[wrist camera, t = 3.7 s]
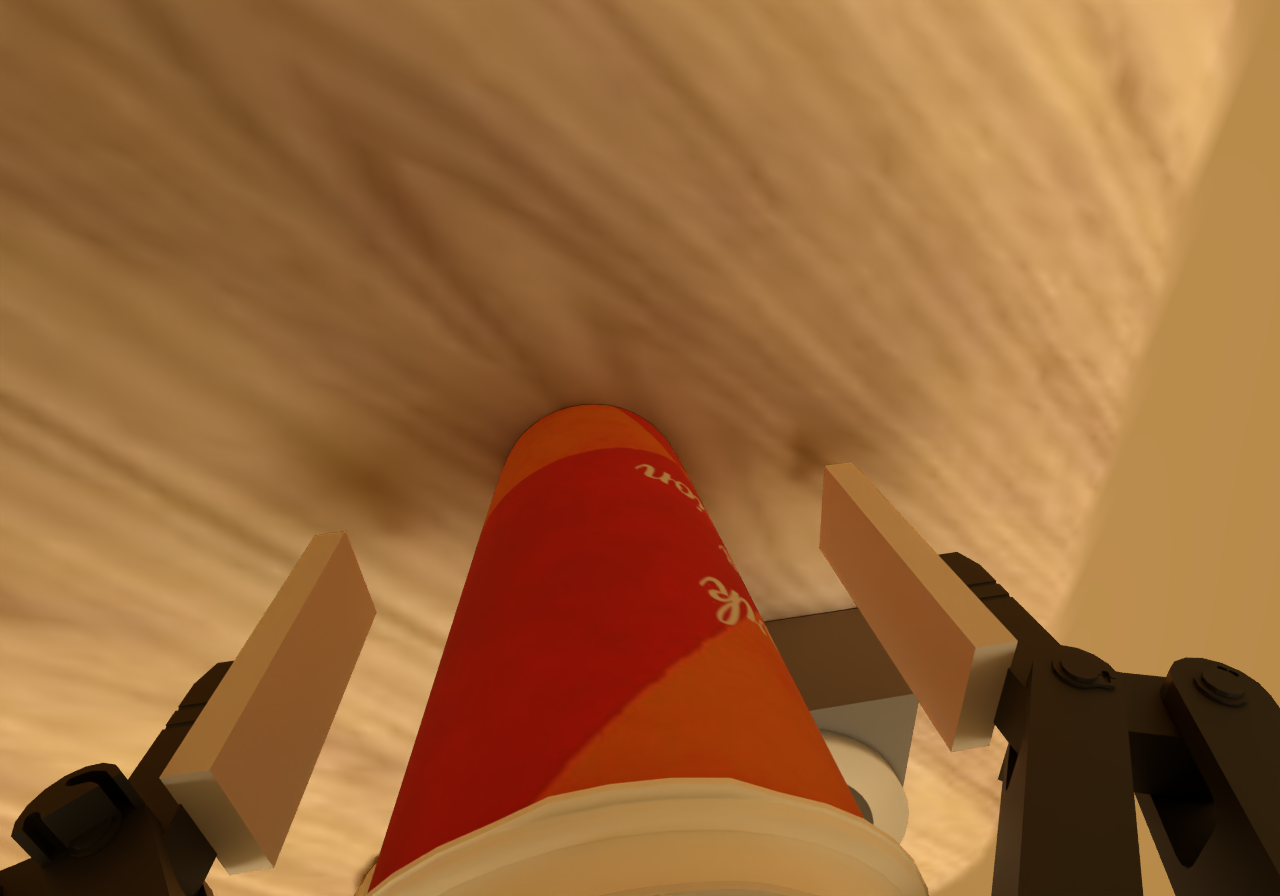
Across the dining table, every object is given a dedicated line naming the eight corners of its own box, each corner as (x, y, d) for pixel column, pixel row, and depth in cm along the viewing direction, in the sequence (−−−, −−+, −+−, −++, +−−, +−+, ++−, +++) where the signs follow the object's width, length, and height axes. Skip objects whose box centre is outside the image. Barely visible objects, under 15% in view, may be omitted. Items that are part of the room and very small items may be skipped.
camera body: (575, 651, 22) (579, 813, 17) (864, 607, 23) (957, 748, 17) (620, 889, 29) (633, 1054, 24) (837, 850, 30) (896, 1002, 25)
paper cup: (694, 580, 21) (886, 1203, 9) (471, 581, 20) (320, 1296, 8) (729, 370, 18) (1129, 899, 5) (461, 357, 16) (152, 991, 4)
